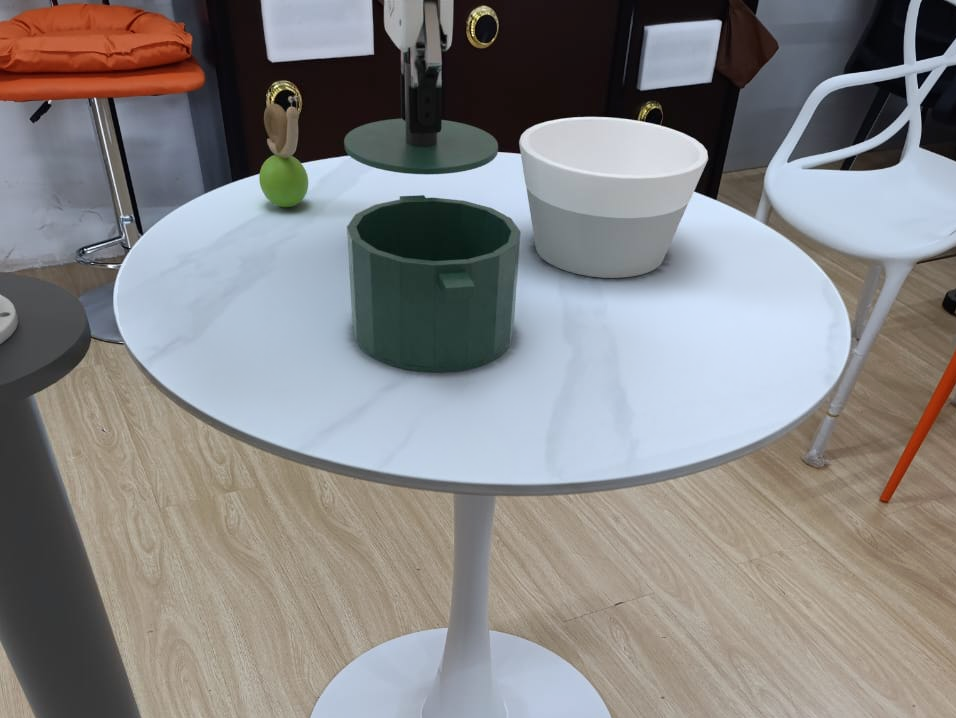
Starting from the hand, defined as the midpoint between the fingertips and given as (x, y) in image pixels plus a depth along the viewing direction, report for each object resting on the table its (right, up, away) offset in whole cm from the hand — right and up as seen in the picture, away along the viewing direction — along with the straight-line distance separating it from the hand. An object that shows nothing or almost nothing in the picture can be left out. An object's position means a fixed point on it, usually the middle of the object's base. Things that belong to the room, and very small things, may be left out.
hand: (421, 123), depth 92 cm
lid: (0, -2, +2) cm, 2 cm away
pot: (+2, -23, -7) cm, 24 cm away
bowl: (+19, -9, +9) cm, 23 cm away
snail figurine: (-16, -2, +14) cm, 21 cm away
